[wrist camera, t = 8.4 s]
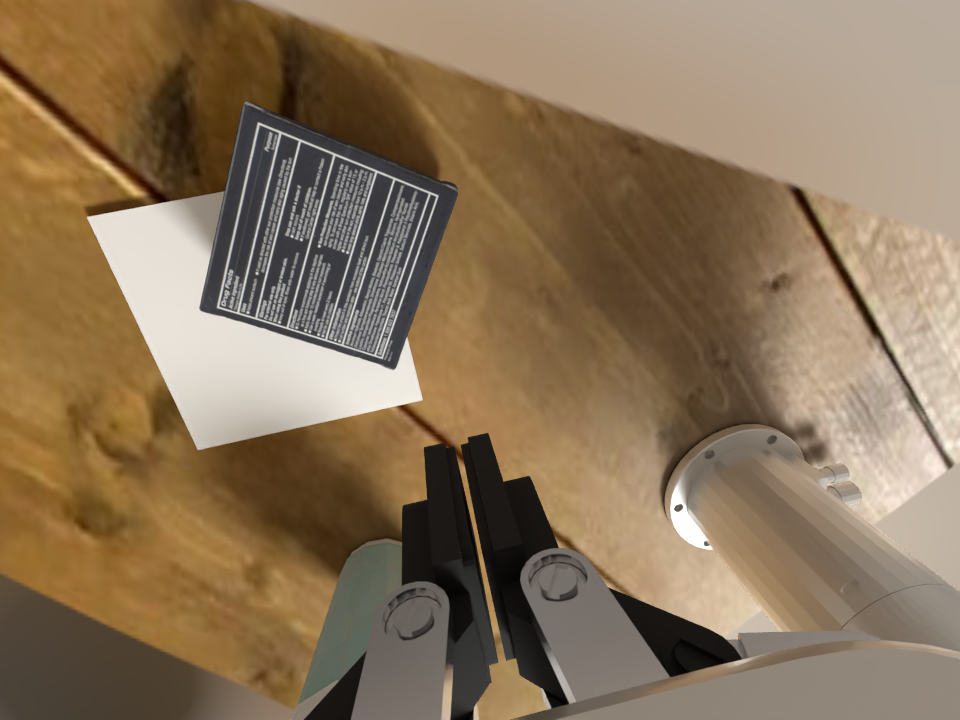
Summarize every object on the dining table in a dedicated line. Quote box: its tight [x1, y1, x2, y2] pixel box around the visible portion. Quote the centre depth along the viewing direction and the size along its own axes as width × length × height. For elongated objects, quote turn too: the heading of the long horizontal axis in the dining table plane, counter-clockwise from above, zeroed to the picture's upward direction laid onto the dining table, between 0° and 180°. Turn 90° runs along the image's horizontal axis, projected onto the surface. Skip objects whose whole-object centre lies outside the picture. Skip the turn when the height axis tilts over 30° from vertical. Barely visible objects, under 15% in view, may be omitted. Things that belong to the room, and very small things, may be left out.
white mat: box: [87, 191, 422, 450], centre depth 32 cm, size 16×16×1 cm
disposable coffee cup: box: [290, 538, 402, 720], centre depth 34 cm, size 11×11×15 cm
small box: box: [199, 102, 458, 370], centre depth 27 cm, size 11×6×10 cm
